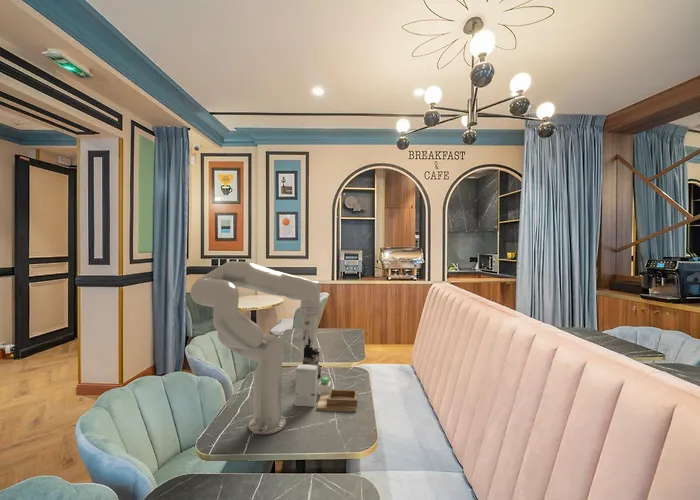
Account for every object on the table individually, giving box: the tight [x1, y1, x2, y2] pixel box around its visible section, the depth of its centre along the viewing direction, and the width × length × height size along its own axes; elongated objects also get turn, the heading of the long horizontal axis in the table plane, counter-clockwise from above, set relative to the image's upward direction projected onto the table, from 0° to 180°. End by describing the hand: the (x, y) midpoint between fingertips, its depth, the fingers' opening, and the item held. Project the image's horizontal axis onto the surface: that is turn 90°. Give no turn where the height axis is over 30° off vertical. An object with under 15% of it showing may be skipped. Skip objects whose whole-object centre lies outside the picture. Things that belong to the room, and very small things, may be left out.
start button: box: [320, 376, 330, 384], centre depth 150 cm, size 4×4×5 cm
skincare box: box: [294, 363, 319, 408], centre depth 140 cm, size 8×6×15 cm
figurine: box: [302, 345, 322, 378], centre depth 167 cm, size 9×12×15 cm
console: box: [317, 380, 332, 396], centre depth 150 cm, size 5×5×4 cm
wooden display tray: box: [316, 388, 359, 412], centre depth 140 cm, size 13×15×4 cm
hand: (308, 357), depth 140 cm, fingers closed
